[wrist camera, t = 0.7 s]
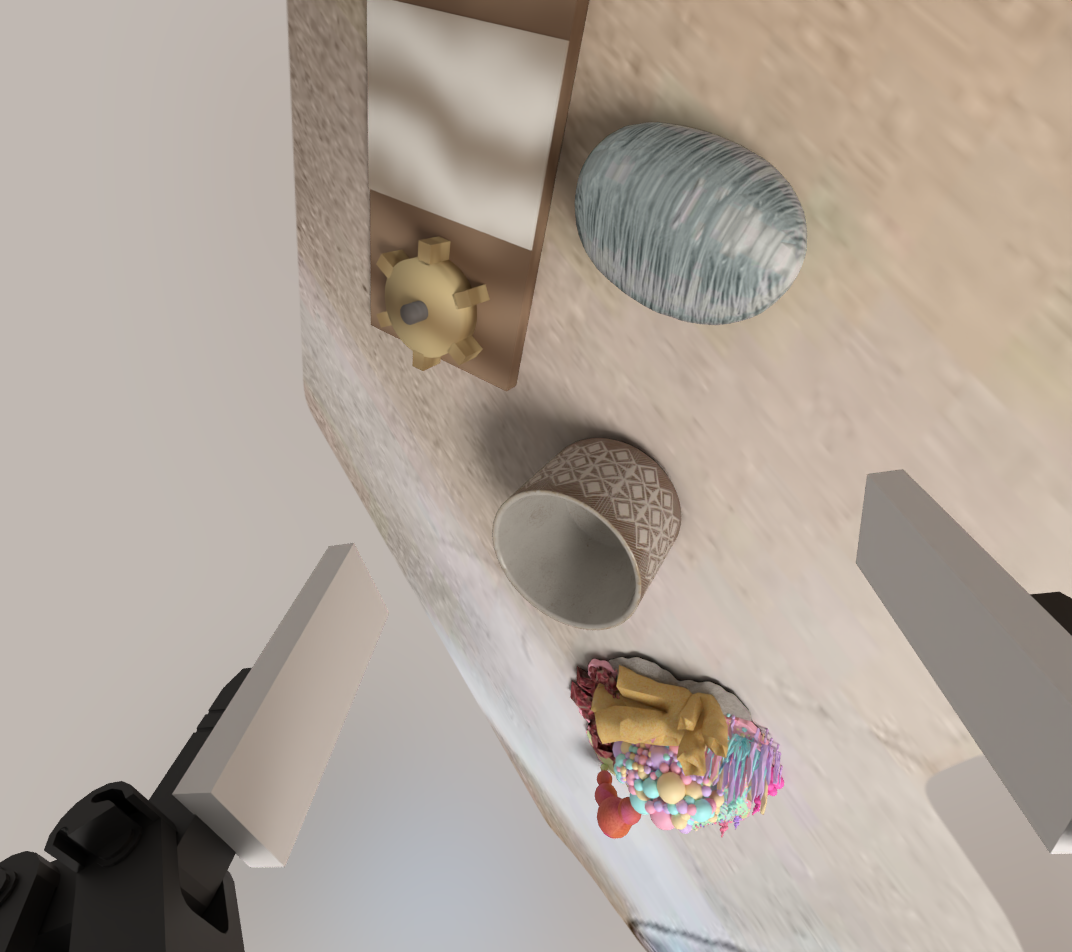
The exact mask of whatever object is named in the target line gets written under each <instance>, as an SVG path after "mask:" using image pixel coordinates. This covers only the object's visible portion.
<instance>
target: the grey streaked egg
mask: <svg viewBox="0 0 1072 952" xmlns="http://www.w3.org/2000/svg"><path fill="white" fill-rule="evenodd" d="M575 216H576V225H577V229H578V233H579V237H580V239H581V242H582V244H583V246H584V249H585V251H586V253H587V254H588V256H589V257H590V259H591V260H592V262H593V263H594V265H595V266H596V268H597V269H598V270H599V271H600V272H601V273H602V274H603V275H604V276H605V277H606V278H607V279H608V280H610V281H611V282H612V283H613V284H614V285H616V286H617V287H618V288H619V289H620V290H621V291H623V292H624V293H625V294H627V295H628V296H630V297H631V298H633V299H634V300H636V301H637V302H639V303H640V304H642V305H644V306H646V307H648V308H649V309H651V310H653V311H656V312H658V313H660V314H664V315H667V316H670V317H673V318H676V319H678V320H682V321H686V322H691V323H697V324H708V325H721V324H730V323H734V322H739V321H742V320H745V319H748V318H751V317H754V316H756V315H758V314H760V313H762V312H763V311H765V310H766V309H767V308H769V307H770V306H771V305H773V304H774V303H775V302H776V301H777V300H778V299H779V298H780V297H781V296H782V295H783V294H784V293H785V292H786V291H787V290H788V289H789V288H790V287H791V285H792V283H793V281H794V280H795V279H796V277H797V275H798V273H799V272H800V269H801V267H802V264H803V261H804V258H805V254H806V251H807V227H806V220H805V215H804V211H803V208H802V206H801V204H800V201H799V199H798V197H797V195H796V193H795V191H794V190H793V188H792V187H791V185H790V183H789V182H788V181H787V180H786V179H785V178H784V177H783V176H782V174H781V173H780V172H779V171H778V170H777V169H776V168H775V167H773V166H772V165H771V164H770V163H769V162H767V161H766V160H765V159H763V158H762V157H760V156H758V155H757V154H755V153H753V152H752V151H750V150H748V149H746V148H744V147H742V146H740V145H739V144H736V143H734V142H732V141H729V140H727V139H725V138H723V137H720V136H718V135H715V134H712V133H709V132H706V131H702V130H698V129H694V128H690V127H686V126H680V125H674V124H668V123H660V122H647V123H642V124H635V125H628V126H625V127H623V128H621V129H619V130H617V131H616V132H614V133H612V134H610V135H608V136H607V137H606V138H605V139H604V140H603V141H602V142H600V143H599V144H598V145H597V146H596V147H595V148H594V150H593V151H592V152H591V153H590V155H589V156H588V158H587V160H586V161H585V163H584V165H583V167H582V169H581V172H580V175H579V178H578V183H577V188H576V195H575Z"/></svg>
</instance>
